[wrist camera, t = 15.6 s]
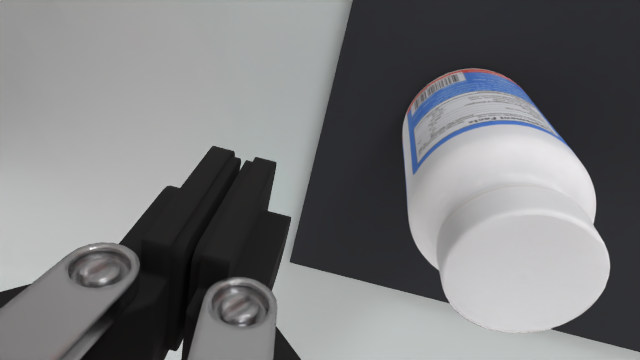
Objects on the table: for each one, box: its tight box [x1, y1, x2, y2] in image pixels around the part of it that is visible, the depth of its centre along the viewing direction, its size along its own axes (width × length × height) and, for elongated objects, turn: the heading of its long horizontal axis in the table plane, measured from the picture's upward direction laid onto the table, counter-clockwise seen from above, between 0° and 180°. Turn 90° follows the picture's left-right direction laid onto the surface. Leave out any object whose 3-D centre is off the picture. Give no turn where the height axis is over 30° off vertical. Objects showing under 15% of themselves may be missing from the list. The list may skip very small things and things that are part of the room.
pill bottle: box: [402, 68, 610, 333], centre depth 16 cm, size 6×5×10 cm
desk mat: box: [290, 0, 640, 352], centre depth 21 cm, size 22×18×1 cm
